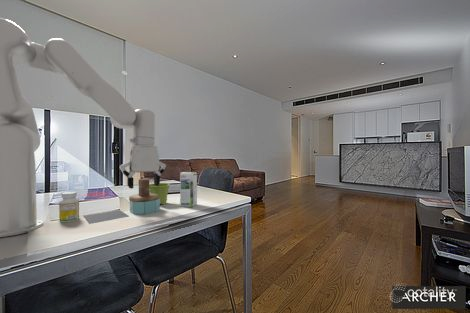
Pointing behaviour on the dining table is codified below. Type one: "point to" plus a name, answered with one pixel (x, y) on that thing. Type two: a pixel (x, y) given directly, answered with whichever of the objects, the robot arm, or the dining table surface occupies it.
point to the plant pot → (160, 191)
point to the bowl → (145, 207)
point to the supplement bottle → (69, 207)
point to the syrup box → (188, 189)
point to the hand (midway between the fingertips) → (144, 186)
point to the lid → (143, 192)
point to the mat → (105, 216)
